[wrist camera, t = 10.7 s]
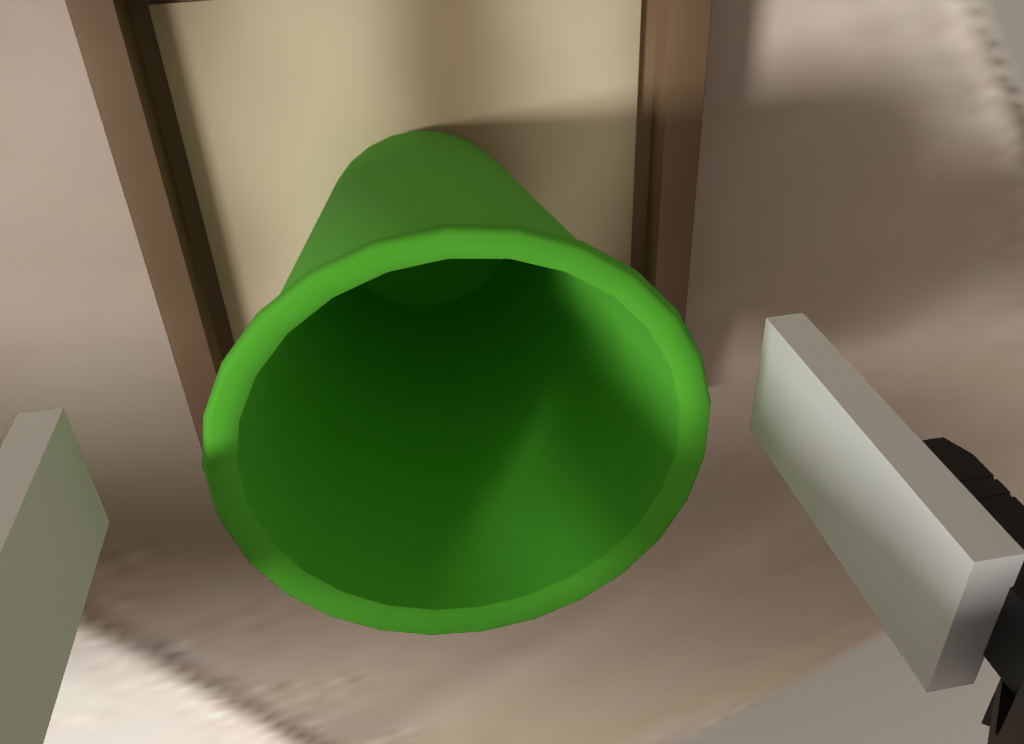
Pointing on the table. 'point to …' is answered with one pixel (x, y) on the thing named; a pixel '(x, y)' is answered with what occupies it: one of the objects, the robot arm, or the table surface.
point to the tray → (383, 129)
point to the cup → (452, 404)
